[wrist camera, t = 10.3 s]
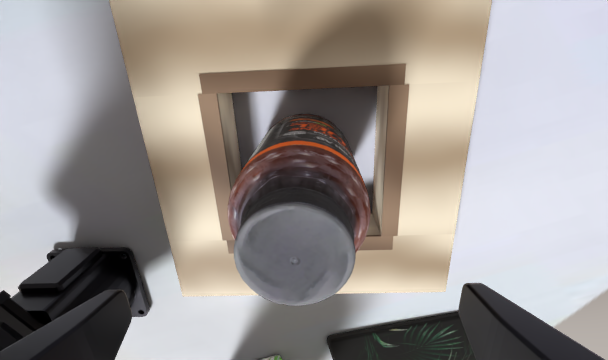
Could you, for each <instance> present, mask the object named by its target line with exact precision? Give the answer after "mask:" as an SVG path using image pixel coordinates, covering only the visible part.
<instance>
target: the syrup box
mask: <svg viewBox="0 0 608 360" xmlns="http://www.w3.org/2000/svg"><path fill="white" fill-rule="evenodd" d="M261 360H282V359H281V357H280V356H279V355H275V356H271V357H268V358H264V359H261Z"/></svg>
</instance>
